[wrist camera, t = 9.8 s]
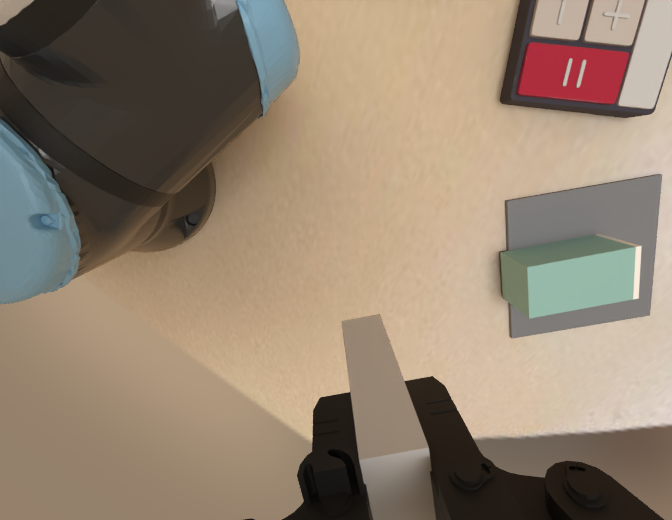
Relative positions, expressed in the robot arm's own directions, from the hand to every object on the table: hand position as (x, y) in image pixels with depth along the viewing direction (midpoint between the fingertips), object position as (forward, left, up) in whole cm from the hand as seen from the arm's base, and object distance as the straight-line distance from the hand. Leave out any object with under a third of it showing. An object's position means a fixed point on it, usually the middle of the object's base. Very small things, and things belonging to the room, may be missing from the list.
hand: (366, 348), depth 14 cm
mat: (+10, +29, -29) cm, 42 cm away
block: (+10, +19, -26) cm, 33 cm away
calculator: (-13, +28, -30) cm, 43 cm away
